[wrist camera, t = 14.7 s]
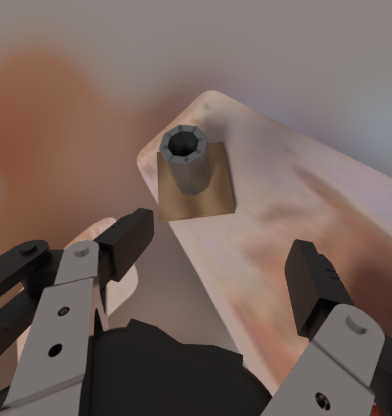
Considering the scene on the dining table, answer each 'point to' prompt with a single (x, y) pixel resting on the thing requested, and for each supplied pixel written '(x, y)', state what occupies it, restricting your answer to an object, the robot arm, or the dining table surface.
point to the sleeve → (187, 158)
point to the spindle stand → (201, 203)
